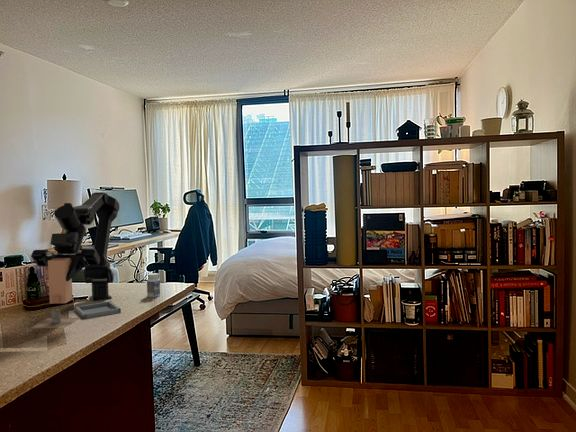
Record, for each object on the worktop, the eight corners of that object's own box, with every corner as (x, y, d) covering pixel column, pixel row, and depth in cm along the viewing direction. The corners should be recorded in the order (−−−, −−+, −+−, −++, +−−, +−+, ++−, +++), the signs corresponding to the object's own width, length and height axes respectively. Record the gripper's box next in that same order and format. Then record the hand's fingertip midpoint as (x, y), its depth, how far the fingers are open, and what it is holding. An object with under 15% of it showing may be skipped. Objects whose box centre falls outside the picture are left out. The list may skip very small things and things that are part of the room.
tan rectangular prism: (57, 299, 132) (55, 258, 131) (72, 299, 132) (70, 257, 131) (46, 305, 126) (44, 261, 125) (63, 304, 126) (61, 261, 125)
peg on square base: (48, 320, 134) (47, 306, 133) (80, 320, 134) (80, 305, 134) (29, 331, 124) (28, 315, 123) (64, 330, 124) (64, 315, 124)
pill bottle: (156, 297, 161) (155, 275, 161) (144, 297, 162) (144, 274, 162) (162, 294, 166) (161, 272, 165) (151, 294, 167) (150, 272, 166)
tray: (75, 312, 142) (75, 306, 142) (110, 306, 149) (110, 301, 149) (84, 321, 133) (83, 314, 132) (120, 314, 139) (120, 308, 139)
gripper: (32, 223, 131) (13, 266, 121) (95, 222, 133) (81, 264, 122) (46, 245, 140) (30, 287, 130) (105, 244, 141) (93, 285, 131)
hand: (58, 280), depth 128 cm, fingers closed on tan rectangular prism, 5 cm apart
